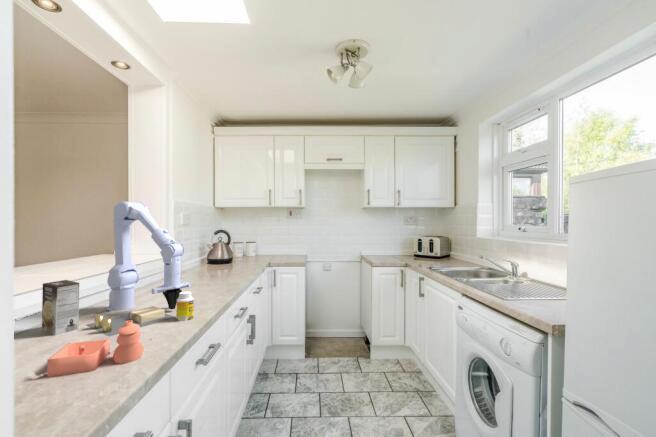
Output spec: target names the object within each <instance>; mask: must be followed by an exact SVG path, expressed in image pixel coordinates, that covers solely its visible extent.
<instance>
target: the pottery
mask: <svg viewBox="0 0 656 437" xmlns="http://www.w3.org/2000/svg"><path fill="white" fill-rule="evenodd" d="M140 329H141V328H140V326H139V325H137V324H133V321H132V320H130V321H126V322H125V325H124V326H122V327H120V328H119V329H118V333H119V334H118V335H117V337H116V343H117V344H118V345H117V347H115V349H114V351H113V354H112V357H113V361H114V363H116V364H128V363H132V362H134V361H137V360H140V359H141V358H142V356H143V354H144V346H143V344H142V343H141V342H140V339H141V333H140V332H139V330H140ZM110 339H111V338H108V339H107V338H105V339H97V340H86V341H78V342H69V343H67V344H66V345H65V346H63V347H62V348H61V349H59V350H58V351H57V352H56V353H55V354H53V355H52V356H50V357H49V358H48V359H47V370H46V371H47V373H46V374H47V375H46V376H47V378H50V377H51V378H53V377H59V376H64V375H73V374H80V373H86V372H87V373H88V372H95V371H96V370H97V369H98V367H100V365H101V364H102V363H103V361H105V360H106V358H108V356H109V355H110V349H111V347H110V346H111V341H110Z"/></svg>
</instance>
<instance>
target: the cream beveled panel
mask: <svg viewBox="0 0 656 437" xmlns="http://www.w3.org/2000/svg"><path fill="white" fill-rule="evenodd" d="M165 312H166V310H165V309H164V308H160V307H157V306H149V307H145V308H141V309H137V310H133V311H130V313H129V314H130V319H132V320H134V321H137V322H140V323H144V322H147V321H151V320H155V319H158V318H162V317H165V314H166V313H165Z"/></svg>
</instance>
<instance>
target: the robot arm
mask: <svg viewBox="0 0 656 437" xmlns="http://www.w3.org/2000/svg"><path fill="white" fill-rule="evenodd" d="M149 209H150V208H148V207H147V205H146V204H145V203H144V202H141V201H140V202H137V201H125V200H120V201H118V202H117V203H116V205H114V206H113V221H112V222H113V238H114V239H113V240H114V262H115V265H113V267H111V268H110V269H108V277H107V281H106V282H107V285H108V287H109V288H110V291H109V295H108V297H109V298H108V301H109V302H108V307H107V308H106V311H110V312H114V311H126V310H130V309H132V308H134V307H135V287H136V286H137V283H138V282H140V273H139V272H138V267H137V266H136V265H135V264H134V263H133V260H132V240H131V239H132V237H131V225H132V224H133V223H134V222H135V221H139V222H140V223H141V224H142V225H143V226H144V227H145V228H146V229H147V230H148V231H149V232H150V233H151V236H150V237H151V239H152V241H153V242H154V243H155V244H156V245H157V246H158V248H159V249H160V255H161V256H160V257H162V262H163V263H164V264H163V285H160V286H156V287H153V288H151V294H153V295H157V294H161V293H162V295H163V296H164V298H165V300H166V302H167V306H168V310H176V308H177V299H178V298H179V293H180V292H183V290H182V289H184V288H185V289H186V288H191V287H192V281H191V282H190V281H185V282H184V281H183V282H181V275H182V274H181V271H182V270H181V269H182V268H181V267H182V263H181V262H182V256H183V255H184V252H185V247H184V245H183V244H182V243H181V242H177V241H176V239H174V238H173V237H172V236H171V235H170V233H169V230H168V229H165V228H161V227H160V226H159V225H158V223H157V222H156V221H155V218H154V217H153V216H152V214H150V212H149V211H150V210H149Z"/></svg>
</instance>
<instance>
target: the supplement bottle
mask: <svg viewBox="0 0 656 437" xmlns="http://www.w3.org/2000/svg"><path fill="white" fill-rule="evenodd" d="M194 301H195V298H194V297H193V296H192V291H190V290H189V291H182V292H180V293H179V298H178V299H177V303H176V316H175V318H176V321H177V322H186V321H190V320H193V319H194V309H195V308H194V305H195V304H194Z"/></svg>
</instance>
